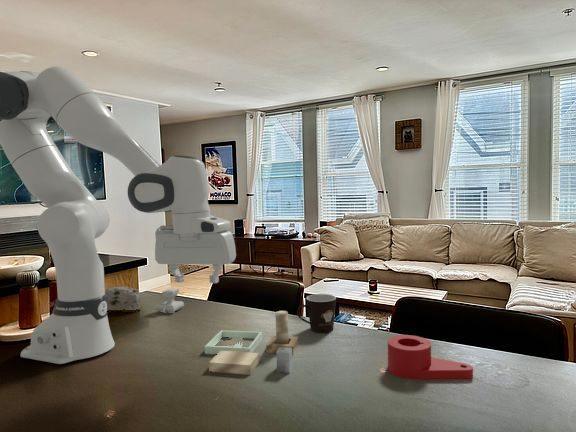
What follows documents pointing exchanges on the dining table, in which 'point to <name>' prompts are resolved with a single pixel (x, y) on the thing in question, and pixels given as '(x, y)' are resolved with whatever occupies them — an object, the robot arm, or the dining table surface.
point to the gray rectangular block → (284, 359)
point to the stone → (122, 298)
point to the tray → (213, 349)
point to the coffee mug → (320, 312)
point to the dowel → (282, 327)
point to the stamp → (170, 301)
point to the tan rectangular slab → (234, 362)
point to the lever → (421, 360)
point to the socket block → (273, 347)
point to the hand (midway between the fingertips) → (196, 282)
